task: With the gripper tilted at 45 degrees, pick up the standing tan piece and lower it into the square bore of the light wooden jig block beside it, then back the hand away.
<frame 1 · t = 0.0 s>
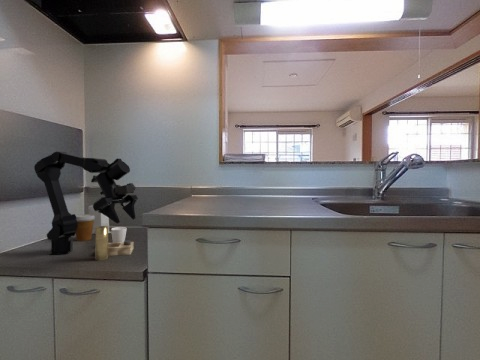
hand: (126, 220, 101), 15 cm above the table, tool tilted 35°, fingers open, 9 cm apart
cup: (115, 246, 119), on the table
skincare box: (98, 233, 146), on the table
tan piece: (101, 258, 101), on the table
jig: (111, 252, 110), on the table
disposable coffee cup: (84, 240, 130), on the table
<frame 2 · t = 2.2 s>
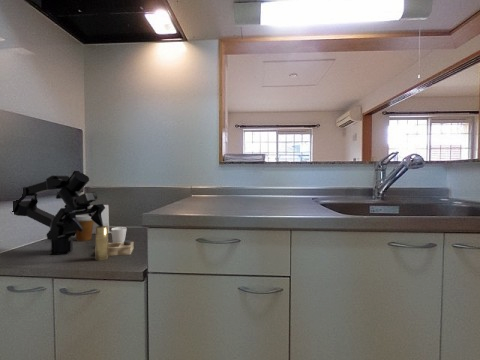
hand: (92, 228, 103), 11 cm above the table, tool tilted 45°, fingers open, 9 cm apart
nothing on the table moved.
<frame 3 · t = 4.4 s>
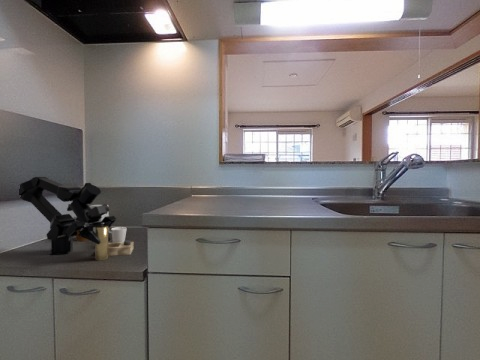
hand: (104, 242, 101), 7 cm above the table, tool tilted 45°, fingers closed on tan piece, 4 cm apart
tan piece: (101, 258, 101), on the table, touching gripper
everything else where it was.
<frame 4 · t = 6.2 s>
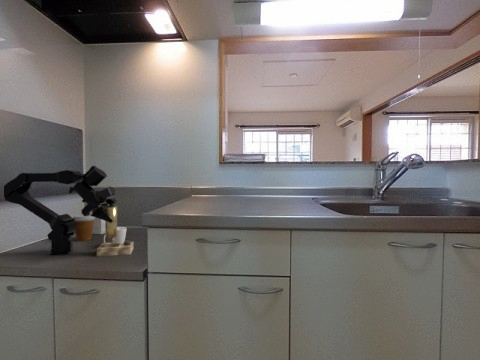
hand: (114, 220, 109), 13 cm above the table, tool tilted 45°, fingers closed on tan piece, 4 cm apart
tan piece: (111, 236, 109), point 7 cm above the table, touching gripper
everything else where it was.
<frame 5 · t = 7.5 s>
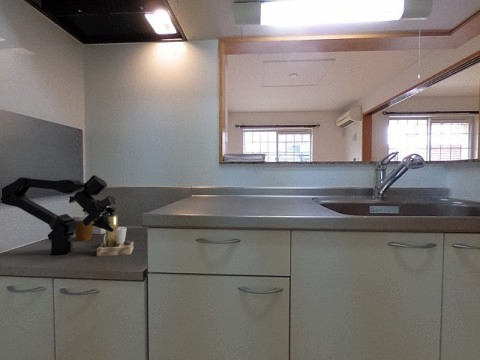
hand: (115, 229, 110), 10 cm above the table, tool tilted 45°, fingers closed on tan piece, 4 cm apart
tan piece: (111, 245, 110), point 3 cm above the table, touching gripper
everything else where it was.
when the fingers open (8 cm above the table, at t = 8.2 s): tan piece drops 1 cm, resting in jig.
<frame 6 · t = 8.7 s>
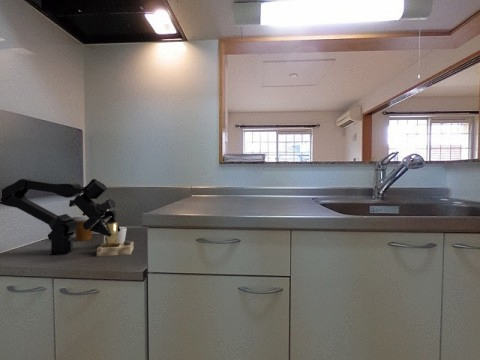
hand: (115, 233, 110), 8 cm above the table, tool tilted 45°, fingers open, 9 cm apart
tan piece: (111, 252, 110), resting in jig
everything else where it was.
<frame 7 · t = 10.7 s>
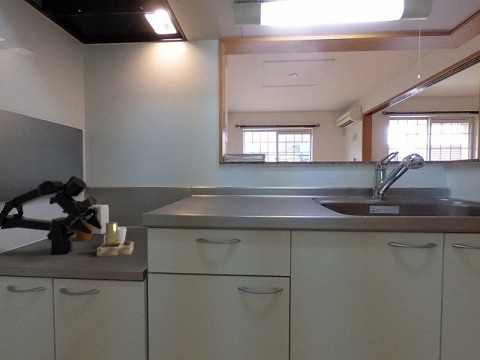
hand: (96, 230, 109), 9 cm above the table, tool tilted 45°, fingers open, 9 cm apart
nothing on the table moved.
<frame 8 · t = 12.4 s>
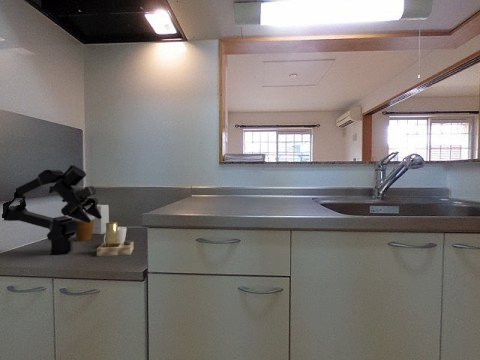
hand: (95, 220, 109), 14 cm above the table, tool tilted 45°, fingers open, 9 cm apart
nothing on the table moved.
at the end: tan piece 0.1 cm off-centre on the jig, point 0.0 cm above the jig's base; tan piece tilted 0°; the gripper is holding nothing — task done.
